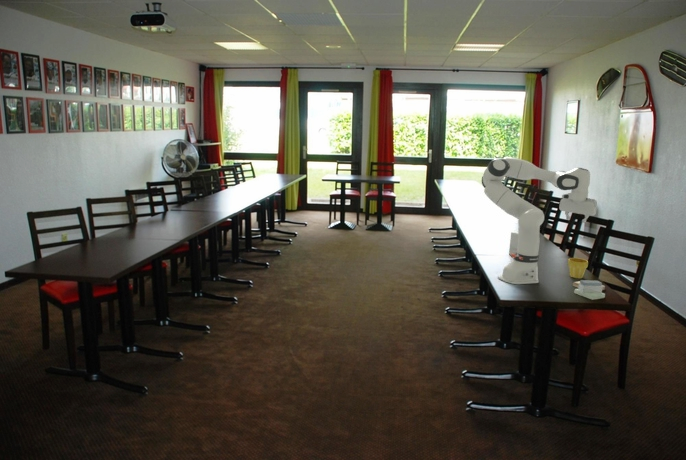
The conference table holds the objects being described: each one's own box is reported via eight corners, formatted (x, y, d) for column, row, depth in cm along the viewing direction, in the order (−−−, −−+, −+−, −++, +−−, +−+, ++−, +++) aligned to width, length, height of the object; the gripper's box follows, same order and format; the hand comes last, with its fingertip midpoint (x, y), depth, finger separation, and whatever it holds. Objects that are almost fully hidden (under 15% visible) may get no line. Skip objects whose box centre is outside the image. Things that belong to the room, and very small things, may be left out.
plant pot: (563, 276, 308) (565, 259, 306) (569, 273, 315) (572, 256, 313) (582, 280, 301) (584, 263, 299) (588, 277, 309) (590, 260, 307)
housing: (582, 292, 273) (584, 282, 272) (578, 289, 277) (579, 280, 276) (601, 293, 274) (603, 283, 273) (596, 290, 278) (598, 280, 277)
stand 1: (590, 292, 281) (591, 288, 281) (572, 285, 291) (573, 282, 290) (604, 289, 286) (605, 286, 286) (586, 283, 296) (587, 280, 295)
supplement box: (526, 254, 355) (528, 232, 352) (522, 257, 348) (525, 234, 344) (512, 252, 360) (514, 230, 357) (508, 254, 352) (510, 232, 349)
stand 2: (592, 299, 269) (593, 295, 268) (574, 293, 278) (574, 289, 278) (604, 297, 273) (605, 293, 273) (585, 291, 283) (586, 287, 282)
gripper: (600, 199, 299) (596, 223, 302) (565, 194, 314) (562, 217, 317) (594, 199, 295) (591, 224, 298) (559, 194, 310) (556, 218, 313)
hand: (575, 221), depth 307 cm, fingers open, 8 cm apart
